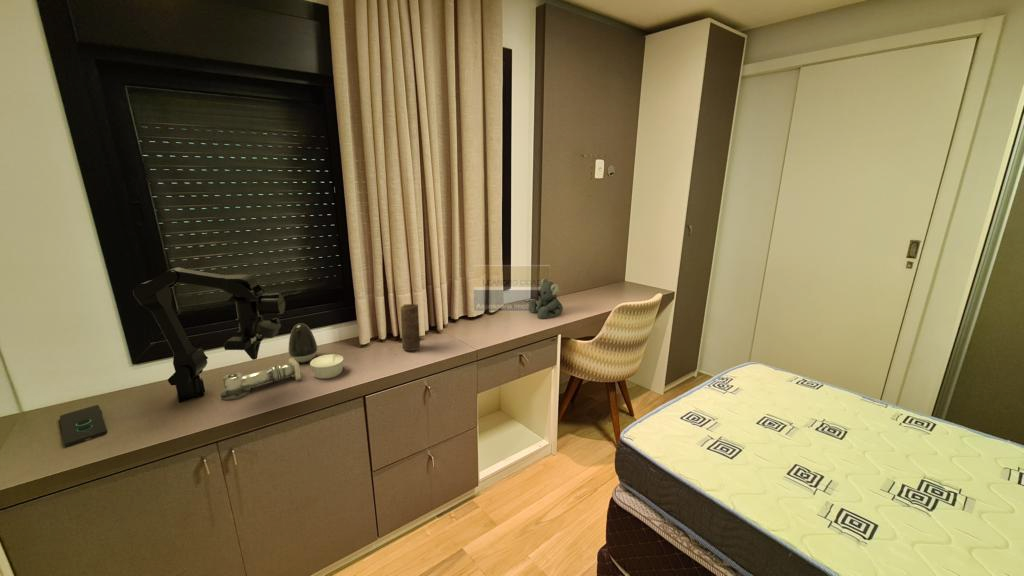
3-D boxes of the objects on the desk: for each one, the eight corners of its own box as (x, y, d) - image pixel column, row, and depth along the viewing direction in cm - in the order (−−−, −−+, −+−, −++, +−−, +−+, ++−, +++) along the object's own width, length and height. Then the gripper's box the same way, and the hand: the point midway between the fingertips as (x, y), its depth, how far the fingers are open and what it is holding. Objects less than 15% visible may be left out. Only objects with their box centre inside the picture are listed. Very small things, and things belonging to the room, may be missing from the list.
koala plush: (526, 310, 222) (527, 277, 217) (553, 307, 229) (555, 275, 224) (540, 320, 207) (541, 284, 202) (569, 316, 214) (571, 282, 209)
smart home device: (62, 444, 102) (58, 415, 114) (64, 449, 102) (60, 420, 114) (107, 429, 108) (99, 403, 120) (109, 435, 108) (100, 408, 120)
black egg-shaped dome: (286, 366, 149) (281, 329, 145) (293, 355, 159) (288, 320, 155) (315, 364, 152) (311, 327, 148) (320, 353, 162) (316, 318, 158)
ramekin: (350, 371, 147) (349, 358, 145) (323, 383, 137) (321, 370, 136) (333, 364, 152) (332, 351, 151) (305, 375, 143) (303, 361, 142)
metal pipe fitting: (223, 402, 124) (220, 385, 123) (219, 393, 130) (215, 376, 128) (301, 379, 140) (299, 364, 138) (294, 372, 145) (292, 357, 144)
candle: (415, 353, 163) (413, 308, 158) (399, 352, 164) (396, 307, 159) (423, 346, 170) (421, 303, 165) (407, 345, 171) (405, 301, 166)
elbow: (227, 398, 126) (224, 380, 124) (224, 392, 129) (221, 374, 128) (279, 382, 136) (277, 366, 134) (275, 377, 140) (273, 361, 138)
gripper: (258, 324, 116) (264, 372, 120) (288, 306, 134) (293, 348, 138) (219, 324, 116) (226, 372, 119) (254, 305, 134) (260, 347, 137)
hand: (254, 359), depth 129 cm, fingers closed
